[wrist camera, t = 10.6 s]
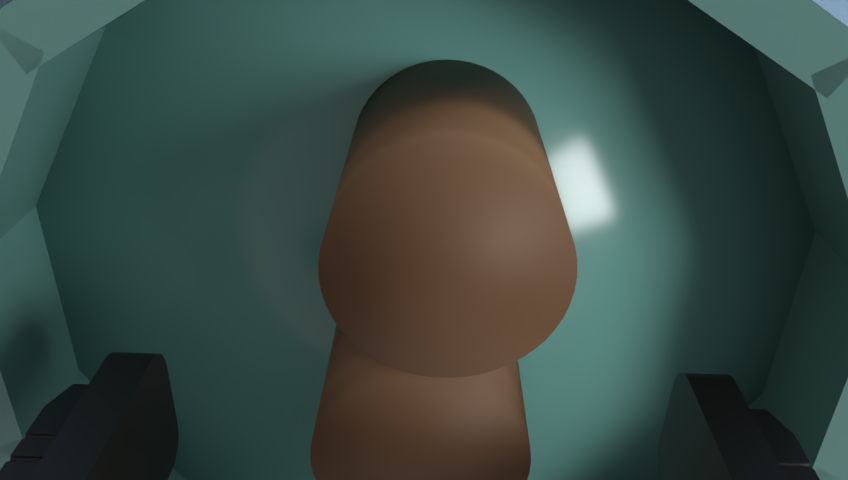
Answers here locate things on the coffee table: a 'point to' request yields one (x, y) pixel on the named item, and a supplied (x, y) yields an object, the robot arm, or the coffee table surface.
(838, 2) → the coffee table surface
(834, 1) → the coffee table surface
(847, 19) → the coffee table surface
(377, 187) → the brown triple cylinder block
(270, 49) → the tray
